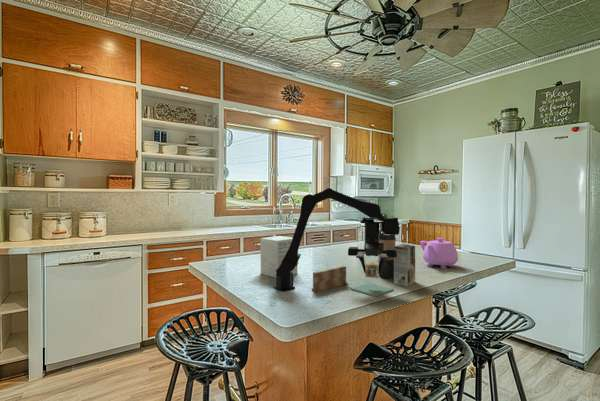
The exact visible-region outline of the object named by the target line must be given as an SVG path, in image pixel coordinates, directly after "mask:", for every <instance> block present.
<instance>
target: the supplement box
mask: <svg viewBox="0 0 600 401" xmlns="http://www.w3.org/2000/svg"><path fill="white" fill-rule="evenodd" d="M292 239H293V237H291V236H285V235H275V236H268V237H261V238H260V240H259V241H260V274H262V275H264V276H268V277H272V278H275V279H276V274H277V273H276V270H277V268H278V267H279V265H280V264H281V262H282V260H283V258H284V257H285V255H286V253H287V251H288V249H289V247H290V245H291V242H292ZM290 272H292V273H293V275H297V274H298V266H297V267H296V266H295V268H294V269H293V270H292V271H290Z"/></svg>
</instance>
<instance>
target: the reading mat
mask: <svg viewBox="0 0 600 401" xmlns="http://www.w3.org/2000/svg"><path fill="white" fill-rule="evenodd" d="M350 290H351V291H354V292H357V293H361V294H365V295H367V296H372V297H374V298H375V297H379V296H381V295H382V296H383V295H384V294H388V293H389V292H390V293H391V292H393V291H394V288H391V287H388V286H383V285H380V284H376V283H372V282H367V283H363V284H359V285H356V286H353V287H350Z"/></svg>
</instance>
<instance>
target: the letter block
mask: <svg viewBox="0 0 600 401" xmlns="http://www.w3.org/2000/svg"><path fill="white" fill-rule="evenodd" d="M378 267H379V262H375V261H365V273H364V274H365V278H374V279H375V278H376V279H378V278H379V274H378Z"/></svg>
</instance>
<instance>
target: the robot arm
mask: <svg viewBox="0 0 600 401" xmlns="http://www.w3.org/2000/svg"><path fill="white" fill-rule="evenodd" d="M301 199H302V200H301V205H300V215H299V217H298V221H297V224H296V227H295V230H294V233H293V235H292V236H293V237H292V238H293V239H292V242H291V245H290V247H289V249H288V251H287V253H286V255H285V257H284V258H283V260H282V262H281V264H280V265H279V267H278V268H277V270H276V273H277V274H276V278H275V286H273V288H274V289H276V290H279V291H281V292H285V291H290V290H293V289H296V286H294V276H293V273H292V272H290V271H292V270H293V269H294V268H295V266H296V267H297V268H298V265H299V260H300V258H301V256H302V254H301V253H299V248H300V246H301V242H302V239H303V236H304V235H305V234H304V233H305V231H306V227H307V224H308V222H309V218H310V216H311V214H312V213H313V211H314V209H315V207H316V205H317V204H318V203H320V202H323V201H325V200H327V199H331V200H334V201H336V202H338V203H340V204H343V205H346V206H347V207H351V208H354V209H356V210H357V211H359V212H360V213H362V214H363V215H365V216H367V217H368V218H366V217H365V216H363V218H362V219H361V220H360V221H359V223H360V224H364V249H363V248H359V246H349V247H348V249H347V256H351V257H355V258H356V259H359V261H360V264H361V267H362V269H363V273H364V274H365V263H366V261H365V256H366V257H371V256H374V257H378V255H379V254H380V259H379V262H378V275H379V273H380V270H381V267H382V264H383V262H384V261H385V259H388V257H397V251H396V249H395V248H386V250H384V243H379V234H380V233H383V234H384V235H395V236H397V235H400V224H399V218H398V217H385V216H384V215H383V213H382V212H381V207H380V206H379V204H377V203H373V202H369V201H365V200H364V201H363V200H359V199H357V198H354V197H352V196H350V195H346V194H344V193H342V192H339V191H336V190H334V189H332V188H330V187H328V188H326V189H324V190H321V191H320V192H317V193H314V194H306V195H304V196H303V197H302V198H301ZM375 219H376V220H377V221H375Z"/></svg>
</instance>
